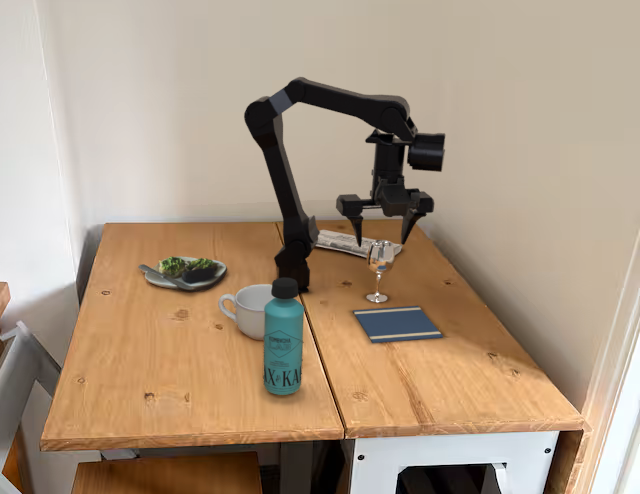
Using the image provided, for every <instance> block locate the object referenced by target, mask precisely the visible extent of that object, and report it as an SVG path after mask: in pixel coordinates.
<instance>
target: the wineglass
mask: <svg viewBox="0 0 640 494" xmlns="http://www.w3.org/2000/svg"><path fill="white" fill-rule="evenodd" d="M393 243H394V242H392V241H390V240H386V239H374V241H372V242H371V243H370V246H369V249H368V252H367V257H365V258H366V260H365V263H366V266H367V268H368V270H369V271H370V272H371V273H374V274H376V277H375V279H376V291H375V292H374V293H368V294H367V295H366V299H367V301H369V302H372V303H384V302H386V301H387V300H388V296H387V295H386V294H383V293H380V283H381V281H382V275H384V274H387V273H389V272H390V271H391V270H392V269H393V268H394V265H395V259H396V258H395V256H396V255H394V246H393Z"/></svg>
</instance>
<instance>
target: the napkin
mask: <svg viewBox="0 0 640 494" xmlns="http://www.w3.org/2000/svg"><path fill="white" fill-rule="evenodd" d="M352 313H353V315H354V317H355V318H356V319H357V321H358V323H359V324H360V326H361V327H362V329H363V331H364V332H365V334H366V335H367V337H368V339H369V340H370V341H371V344H380V343H389V342H390V343H391V342H404V341H417V340H429V339H442V338H444V336H443V334H442V333H441V332H440V330H439V329H438V328H437V327H436V326H435V324H434V323H433V322H432V321H431V320H430V318H429V317H428V316H427V315H426V313H424V311H423V310H422V308H421V307H420V306H419V305H408V306H394V307H393V306H392V307H380V308H367V309H366V308H365V309H353V310H352Z"/></svg>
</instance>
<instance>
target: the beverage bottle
mask: <svg viewBox="0 0 640 494" xmlns="http://www.w3.org/2000/svg"><path fill="white" fill-rule="evenodd" d="M271 285H272V290H271V295H272V296H273V297H275V298H274V299H272V300H271V301H269V302H268V303H267V304H266V305H265V307H264V312H265V318H264V336H263V339H264V340H263V345H262V348H263V349H262V354H263V355H262V357H263V374H262V380H263V386H264V388H265V390H266V391H268V392H269V393H271V394H274V395H278V396H280V395H281V396H285V395H291V394H295V393H296V392H298V391H299V390H300V388H301V386H302V383H303V382H302V381H303V378H302V375H303V368H304V366H303V362H304V361H303V360H304V359H303V352H304V348H303V347H304V318H305V317H304V316H305V314H304V313H305V307H304V305H303V304H302V303H301V302H300V301H299V300H297V299H296V298H297V297H298V296H299V293H298V283H297V281H296V280H294V279H292V278H278V279H276V278H275V279H273V280H272V282H271Z"/></svg>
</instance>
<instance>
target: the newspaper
mask: <svg viewBox="0 0 640 494" xmlns="http://www.w3.org/2000/svg"><path fill="white" fill-rule="evenodd" d="M319 231H320V234H319V235H318V242H317V244H316V246H315V247H321V248H325V249H329V250H330V249H331V250H337V251H341V252H346V253H350V254H352V255H357V256H359V257H360V256H361V257H363V258H367V252H368V249H369V246H370V243H371V242H372V241H374V240H375V239H374V238H369V237H363V236H362V244H361V247H359V246H358V244H357V240H356V237H355V234H354V235H353V234H348V233H343V232H338V231H334V230H333V231H332V230H327V229H320V230H319ZM392 243H393V246H394V255H395V256H396V255H398V254H399V253H400V252H402V248H403V245H402V244H401V243H400V244H399V243H395V242H392Z"/></svg>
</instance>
